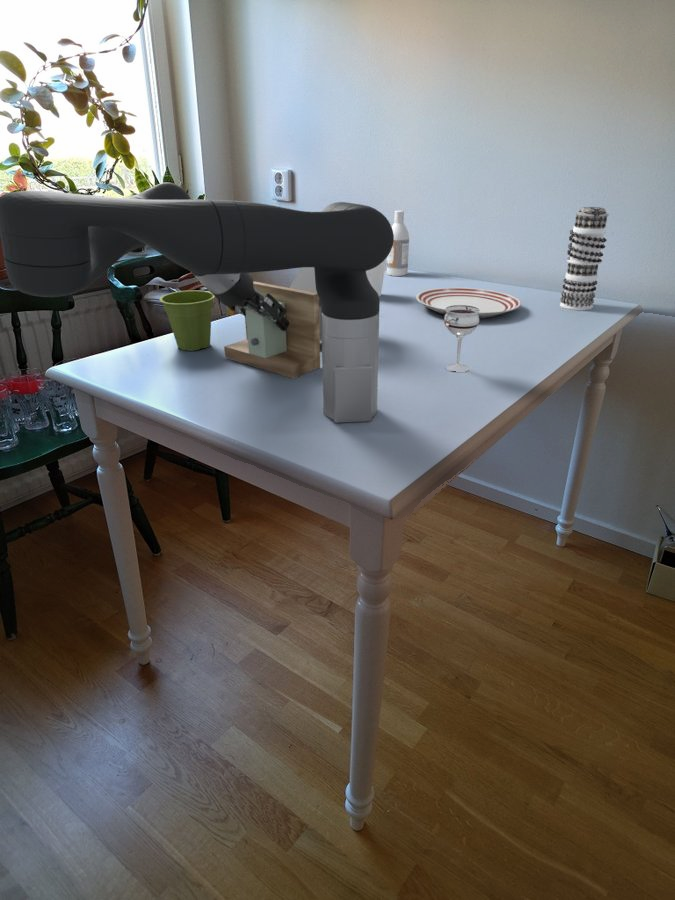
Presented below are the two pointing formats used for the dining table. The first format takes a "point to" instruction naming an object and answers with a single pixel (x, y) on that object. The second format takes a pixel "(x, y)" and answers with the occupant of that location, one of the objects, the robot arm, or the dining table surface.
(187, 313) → the plant pot
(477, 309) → the wineglass
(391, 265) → the bath foam
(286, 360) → the wooden stand
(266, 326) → the cabinet
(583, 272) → the grey white tall cylinder
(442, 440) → the dining table surface
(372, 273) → the cup
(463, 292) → the dinner plate
